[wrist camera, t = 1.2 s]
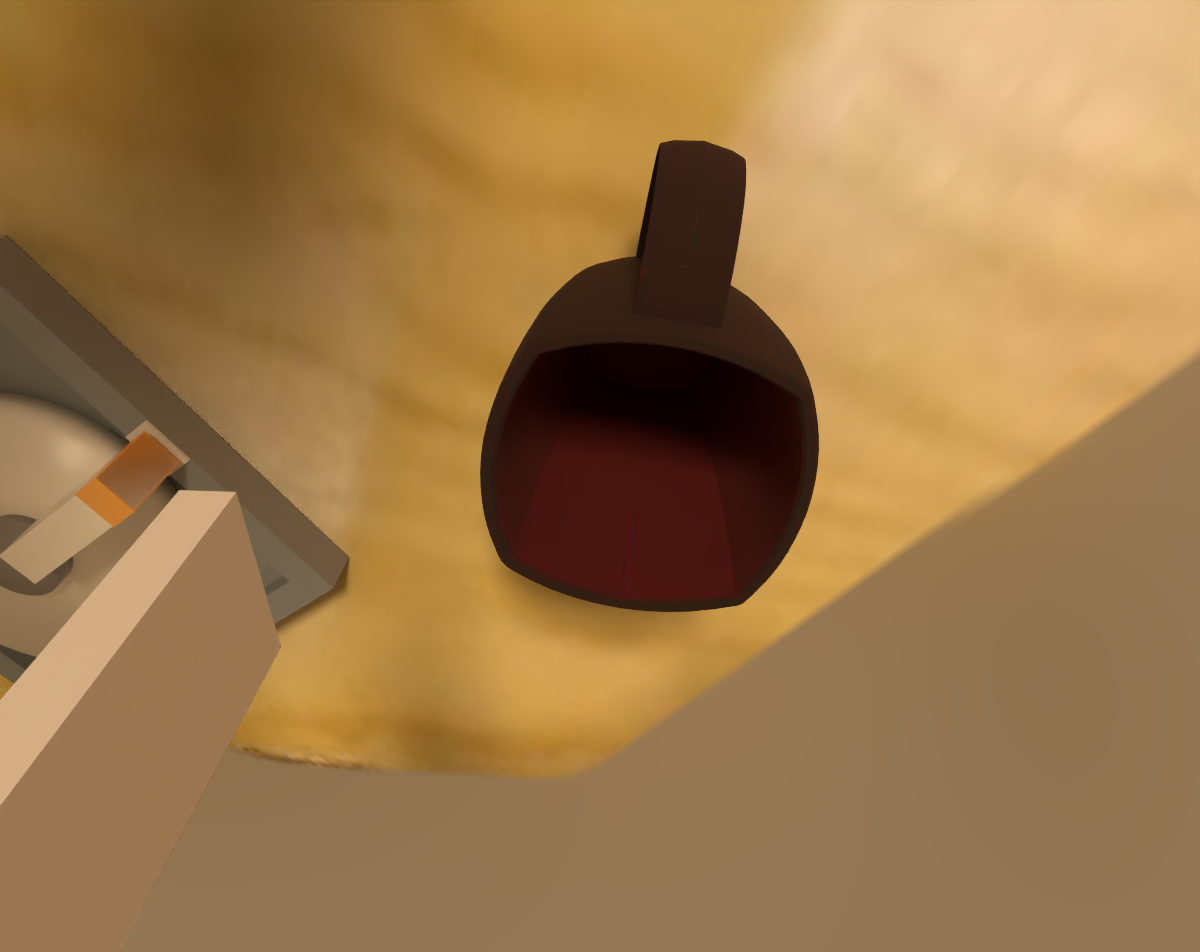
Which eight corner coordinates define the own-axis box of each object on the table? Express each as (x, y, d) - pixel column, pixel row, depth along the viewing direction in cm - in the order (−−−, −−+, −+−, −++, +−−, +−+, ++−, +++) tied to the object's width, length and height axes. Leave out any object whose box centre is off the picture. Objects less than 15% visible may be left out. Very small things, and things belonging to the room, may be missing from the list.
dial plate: (-217, 464, 43) (-263, 492, 41) (6, 235, 36) (-37, 255, 33) (112, 703, 51) (87, 738, 49) (349, 557, 44) (332, 590, 41)
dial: (87, 680, 48) (28, 758, 43) (-170, 492, 42) (-269, 560, 37) (302, 542, 41) (258, 616, 37) (35, 296, 35) (-56, 349, 31)
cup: (521, 411, 38) (468, 585, 28) (561, 74, 31) (507, 148, 21) (741, 448, 39) (765, 634, 29) (834, 122, 31) (912, 219, 21)
